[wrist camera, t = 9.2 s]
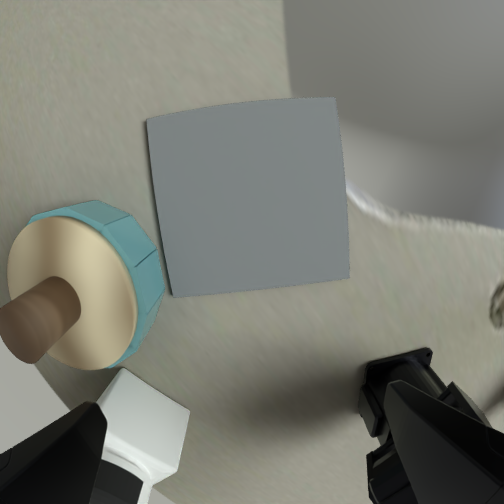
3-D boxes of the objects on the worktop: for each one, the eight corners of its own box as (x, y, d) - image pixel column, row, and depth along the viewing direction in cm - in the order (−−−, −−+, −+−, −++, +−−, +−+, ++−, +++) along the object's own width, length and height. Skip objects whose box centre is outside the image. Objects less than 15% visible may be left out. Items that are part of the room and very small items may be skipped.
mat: (333, 98, 17) (335, 97, 16) (347, 276, 20) (349, 278, 19) (148, 120, 17) (146, 119, 16) (174, 295, 20) (173, 297, 20)
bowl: (147, 189, 18) (122, 194, 14) (177, 337, 21) (163, 369, 17) (31, 216, 18) (-2, 225, 14) (65, 338, 21) (42, 362, 17)
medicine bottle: (95, 402, 23) (46, 491, 11) (123, 364, 22) (62, 473, 10) (155, 440, 24) (127, 535, 13) (192, 409, 23) (168, 526, 11)
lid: (116, 200, 14) (57, 215, 9) (157, 362, 17) (130, 424, 11) (2, 230, 15) (-54, 250, 9) (44, 358, 17) (6, 399, 12)
